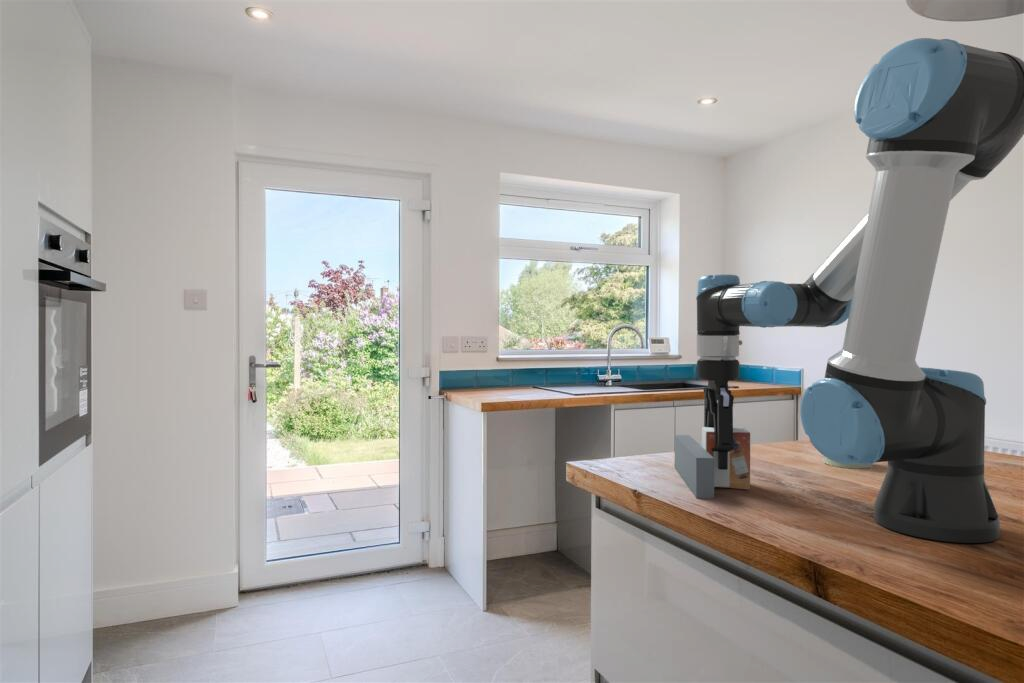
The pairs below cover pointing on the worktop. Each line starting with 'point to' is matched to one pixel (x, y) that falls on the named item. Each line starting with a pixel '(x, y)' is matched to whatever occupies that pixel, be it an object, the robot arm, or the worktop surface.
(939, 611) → the worktop surface
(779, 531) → the worktop surface
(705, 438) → the small box
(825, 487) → the worktop surface
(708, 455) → the wall
